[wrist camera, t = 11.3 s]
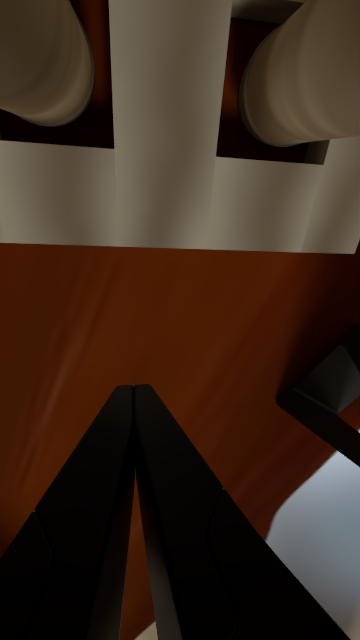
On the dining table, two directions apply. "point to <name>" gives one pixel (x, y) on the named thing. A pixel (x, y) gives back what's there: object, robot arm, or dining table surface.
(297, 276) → the dining table surface
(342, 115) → the oak peg
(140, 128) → the birch board
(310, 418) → the phone stand
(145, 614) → the dining table surface
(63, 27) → the seated peg
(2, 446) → the dining table surface
